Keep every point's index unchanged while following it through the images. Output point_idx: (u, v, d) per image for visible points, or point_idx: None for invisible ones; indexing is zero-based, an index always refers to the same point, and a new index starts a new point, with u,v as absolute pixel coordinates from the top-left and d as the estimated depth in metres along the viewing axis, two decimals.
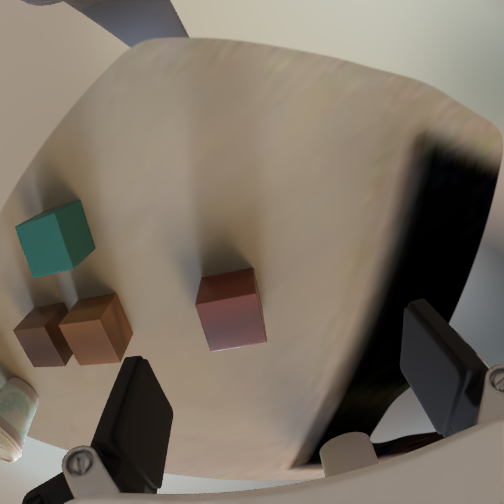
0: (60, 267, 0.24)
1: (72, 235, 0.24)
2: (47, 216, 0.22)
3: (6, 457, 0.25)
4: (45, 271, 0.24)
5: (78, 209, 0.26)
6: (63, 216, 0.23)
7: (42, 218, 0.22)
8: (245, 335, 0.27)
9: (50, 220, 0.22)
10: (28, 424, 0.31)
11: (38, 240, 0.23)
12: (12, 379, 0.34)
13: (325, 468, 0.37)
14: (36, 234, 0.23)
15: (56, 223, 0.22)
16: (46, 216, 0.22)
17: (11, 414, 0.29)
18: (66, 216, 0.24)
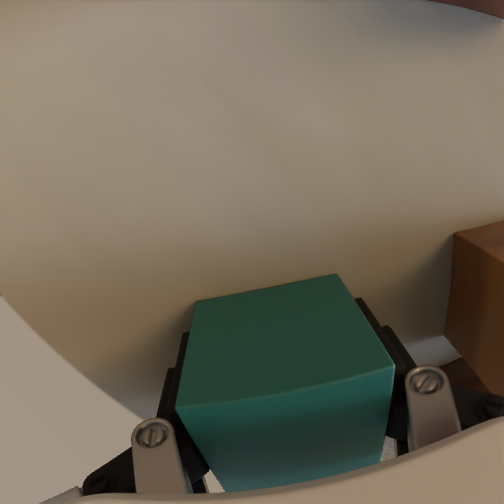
0: (377, 407, 0.07)
1: (279, 348, 0.08)
2: (190, 430, 0.07)
3: None
4: (373, 445, 0.07)
5: (215, 312, 0.10)
6: (205, 372, 0.07)
7: (198, 443, 0.07)
8: None
9: (204, 425, 0.07)
10: None
11: (271, 460, 0.07)
12: None
13: None
14: (251, 462, 0.07)
15: (213, 410, 0.06)
16: (190, 432, 0.07)
17: None
18: (211, 356, 0.08)
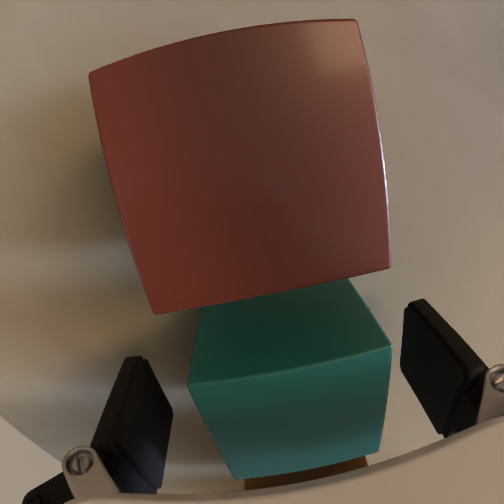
0: (376, 387, 0.07)
1: (284, 331, 0.08)
2: (200, 408, 0.07)
3: None
4: (373, 426, 0.08)
5: None
6: (215, 354, 0.08)
7: (208, 422, 0.08)
8: (316, 105, 0.05)
9: (213, 402, 0.07)
10: None
11: (276, 439, 0.08)
12: None
13: None
14: (258, 441, 0.08)
15: (224, 387, 0.07)
16: (201, 411, 0.07)
17: None
18: (220, 339, 0.09)
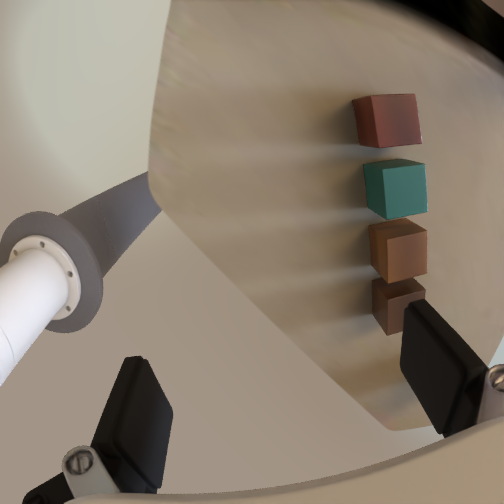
0: (423, 177, 0.28)
1: (397, 164, 0.29)
2: (384, 178, 0.28)
3: None
4: (424, 195, 0.28)
5: (373, 163, 0.31)
6: (383, 167, 0.28)
7: (384, 184, 0.28)
8: (408, 110, 0.25)
9: (387, 175, 0.28)
10: None
11: (400, 194, 0.28)
12: None
13: None
14: (395, 194, 0.28)
15: (390, 170, 0.27)
16: (383, 179, 0.28)
17: None
18: (381, 166, 0.29)
